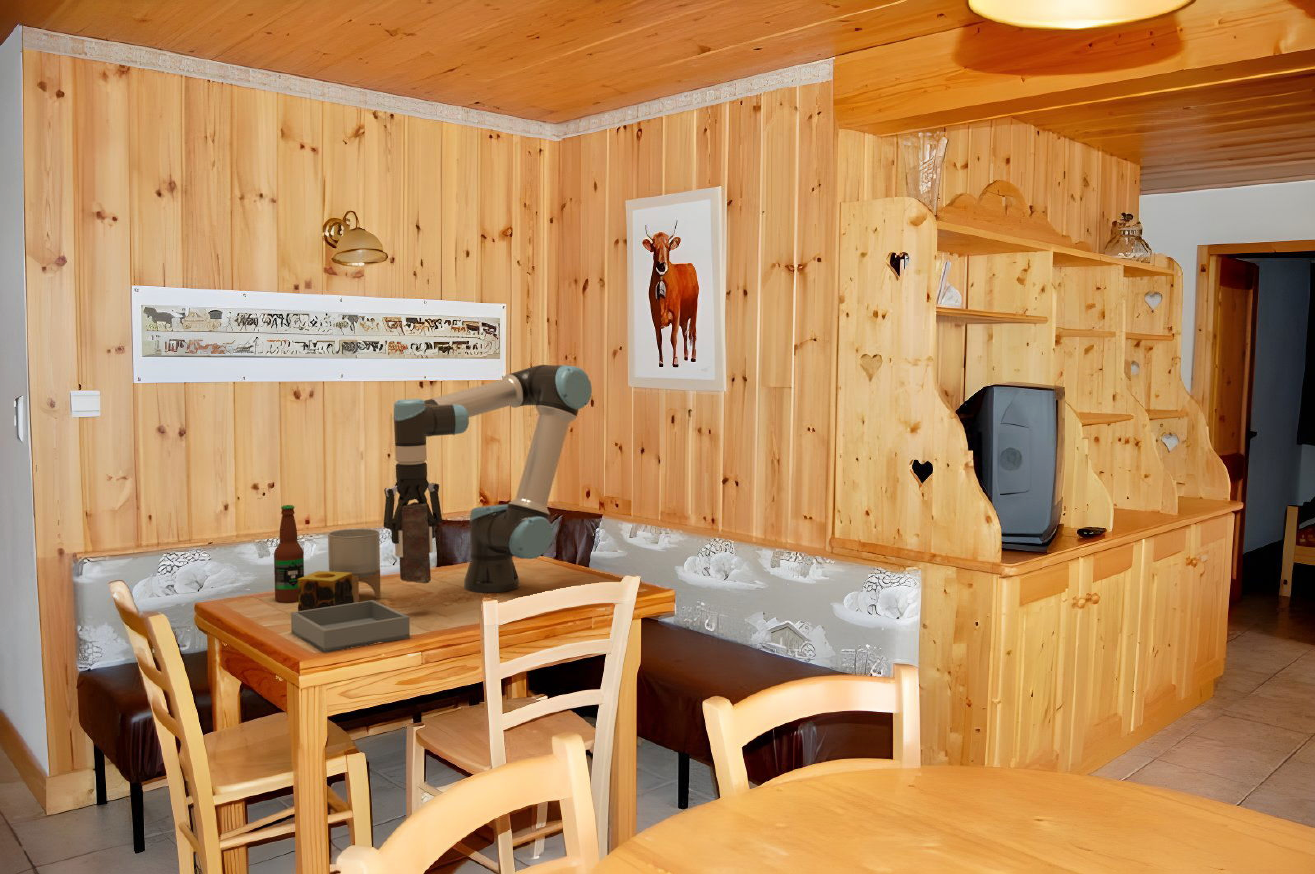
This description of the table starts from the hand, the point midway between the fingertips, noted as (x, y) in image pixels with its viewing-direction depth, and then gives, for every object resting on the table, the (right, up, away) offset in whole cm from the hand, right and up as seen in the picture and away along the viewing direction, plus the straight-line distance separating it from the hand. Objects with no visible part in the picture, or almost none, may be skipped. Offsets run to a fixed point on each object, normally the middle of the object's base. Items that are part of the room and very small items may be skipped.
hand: (414, 553), depth 260 cm
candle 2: (0, -7, +1) cm, 7 cm away
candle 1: (-22, -15, 0) cm, 27 cm away
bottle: (-36, -14, +15) cm, 41 cm away
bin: (-10, -17, -19) cm, 27 cm away
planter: (-19, -14, +16) cm, 29 cm away
